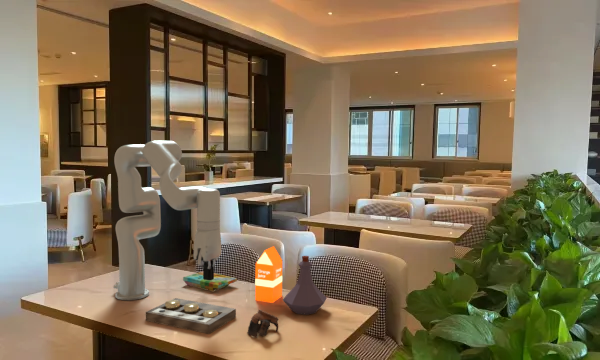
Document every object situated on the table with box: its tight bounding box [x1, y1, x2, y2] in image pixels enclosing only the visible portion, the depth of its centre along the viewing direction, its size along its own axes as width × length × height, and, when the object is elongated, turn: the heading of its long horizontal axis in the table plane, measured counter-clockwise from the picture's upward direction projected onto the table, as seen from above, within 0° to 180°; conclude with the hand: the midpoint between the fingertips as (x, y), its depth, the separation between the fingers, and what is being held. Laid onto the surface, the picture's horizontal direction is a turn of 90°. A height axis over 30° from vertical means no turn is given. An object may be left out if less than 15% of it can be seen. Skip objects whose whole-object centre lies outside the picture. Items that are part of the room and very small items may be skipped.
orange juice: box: [254, 245, 283, 304], centre depth 184 cm, size 8×9×20 cm
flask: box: [282, 255, 327, 316], centre depth 171 cm, size 16×16×20 cm
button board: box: [145, 297, 237, 335], centre depth 162 cm, size 26×16×3 cm, turn 66°
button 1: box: [164, 299, 180, 311], centre depth 165 cm, size 5×5×2 cm
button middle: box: [184, 303, 199, 315], centre depth 162 cm, size 5×5×2 cm
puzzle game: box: [182, 271, 238, 292], centre depth 199 cm, size 12×5×20 cm
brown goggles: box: [247, 309, 280, 339], centre depth 150 cm, size 12×10×8 cm
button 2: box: [203, 310, 218, 318], centre depth 159 cm, size 5×5×2 cm
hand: (208, 279), depth 158 cm, fingers closed
